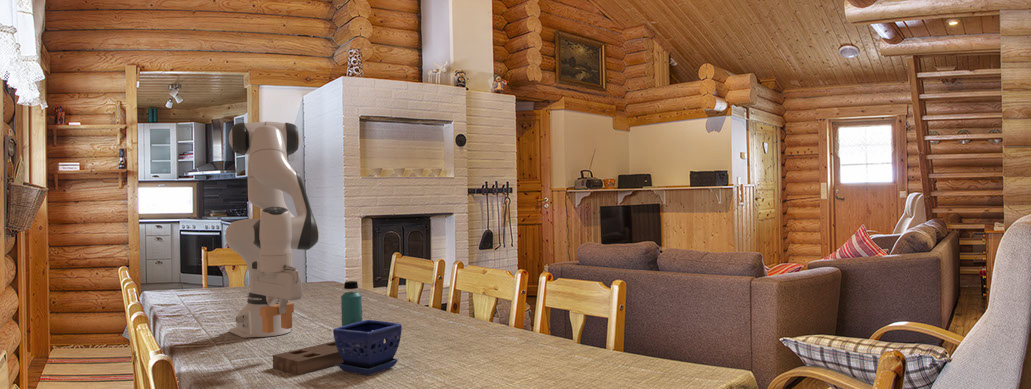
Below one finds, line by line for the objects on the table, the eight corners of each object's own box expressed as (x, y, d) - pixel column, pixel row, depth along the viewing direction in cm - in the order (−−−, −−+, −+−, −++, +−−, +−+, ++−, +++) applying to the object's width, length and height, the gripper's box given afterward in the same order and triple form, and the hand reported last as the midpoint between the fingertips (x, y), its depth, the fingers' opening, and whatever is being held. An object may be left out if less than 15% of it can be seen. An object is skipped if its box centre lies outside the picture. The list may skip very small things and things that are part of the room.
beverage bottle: (358, 349, 206) (356, 282, 205) (337, 348, 207) (336, 282, 207) (366, 344, 212) (365, 280, 212) (347, 343, 213) (345, 279, 213)
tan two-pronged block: (265, 333, 190) (265, 308, 190) (260, 332, 192) (259, 307, 192) (294, 327, 197) (293, 303, 197) (288, 326, 199) (288, 302, 199)
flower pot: (369, 379, 172) (368, 332, 172) (332, 372, 179) (331, 327, 179) (404, 367, 184) (403, 323, 184) (368, 361, 191) (367, 318, 191)
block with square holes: (273, 368, 185) (272, 355, 185) (345, 350, 204) (345, 339, 204) (298, 374, 177) (298, 361, 177) (371, 356, 196) (371, 344, 196)
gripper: (307, 265, 190) (308, 315, 190) (266, 260, 203) (267, 306, 203) (287, 268, 185) (288, 319, 185) (247, 262, 198) (247, 310, 198)
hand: (277, 312), depth 194 cm, fingers closed on tan two-pronged block, 3 cm apart
